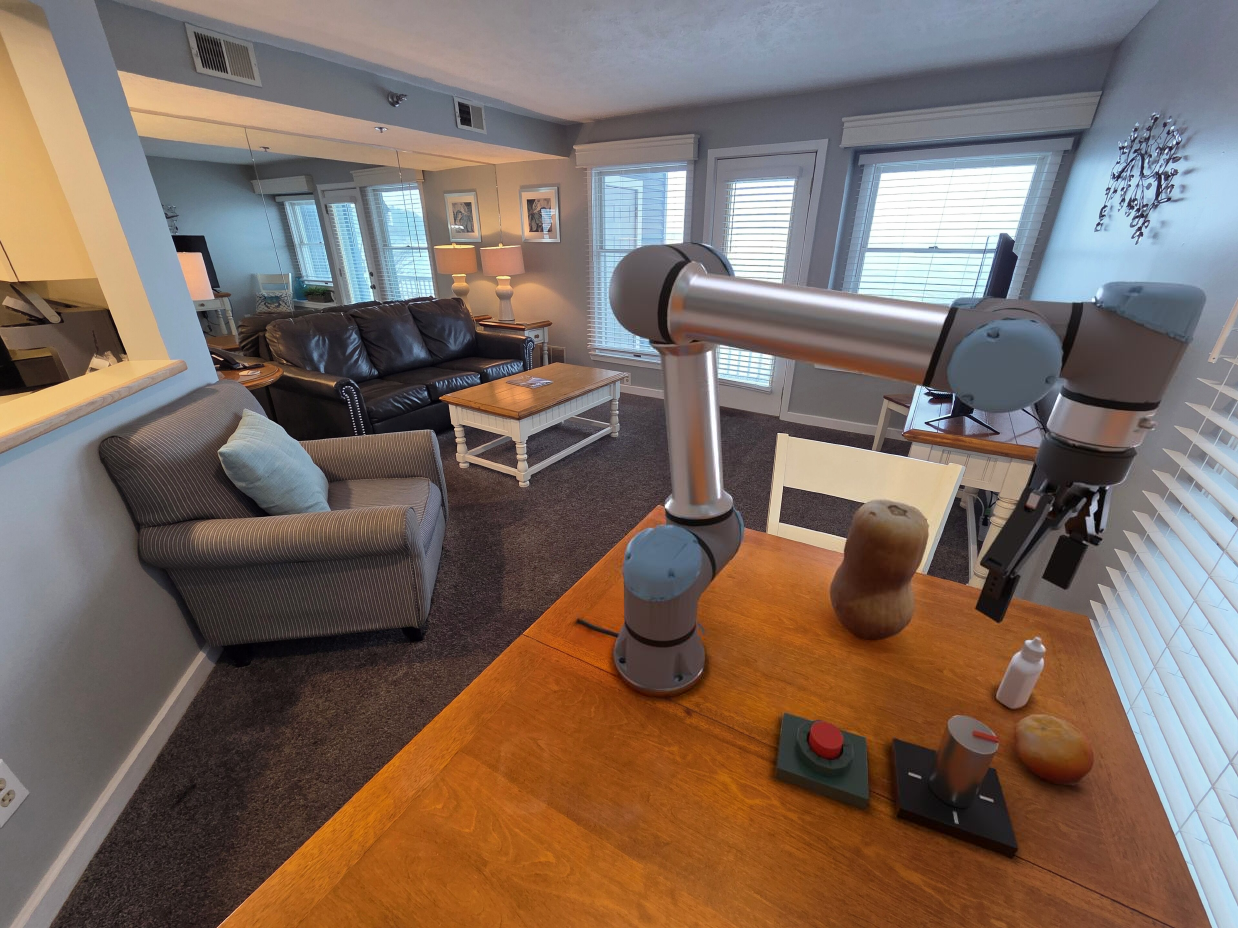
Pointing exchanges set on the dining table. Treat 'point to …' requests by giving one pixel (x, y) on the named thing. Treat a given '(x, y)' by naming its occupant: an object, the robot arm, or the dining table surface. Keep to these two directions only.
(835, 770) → the button box
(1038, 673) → the eye dropper bottle
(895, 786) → the dial panel
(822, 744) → the button
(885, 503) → the butternut squash
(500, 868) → the dining table surface
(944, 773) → the dial
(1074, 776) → the fruit
